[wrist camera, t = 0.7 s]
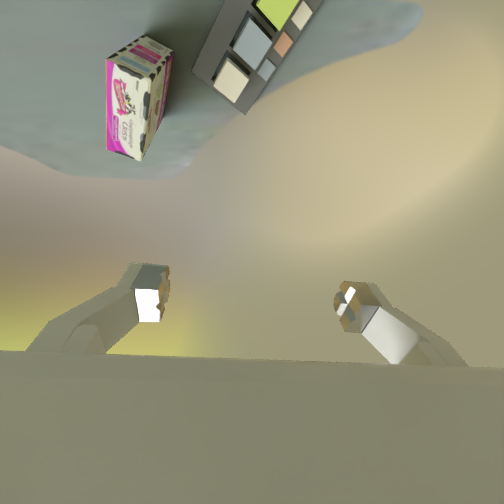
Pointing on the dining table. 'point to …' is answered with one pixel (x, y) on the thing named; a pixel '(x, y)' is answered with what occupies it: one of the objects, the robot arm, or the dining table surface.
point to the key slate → (252, 44)
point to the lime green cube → (277, 10)
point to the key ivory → (231, 80)
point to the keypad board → (220, 41)
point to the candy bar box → (136, 95)
